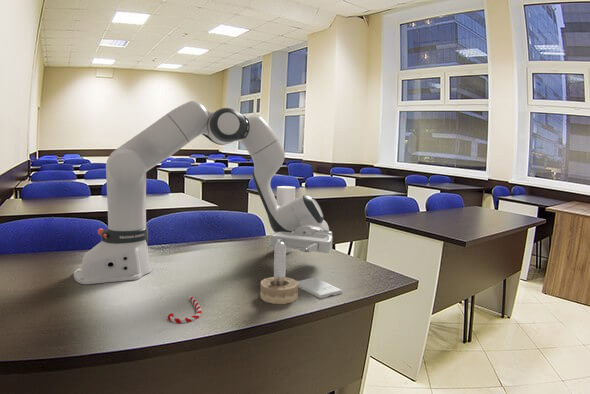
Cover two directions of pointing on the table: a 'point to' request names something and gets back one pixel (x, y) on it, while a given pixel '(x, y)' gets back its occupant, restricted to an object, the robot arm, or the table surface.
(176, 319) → the candy cane
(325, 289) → the external hard drive
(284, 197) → the cylindrical container
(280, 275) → the white peg
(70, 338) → the table surface
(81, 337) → the table surface
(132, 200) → the robot arm
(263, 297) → the tan ring
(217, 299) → the table surface
